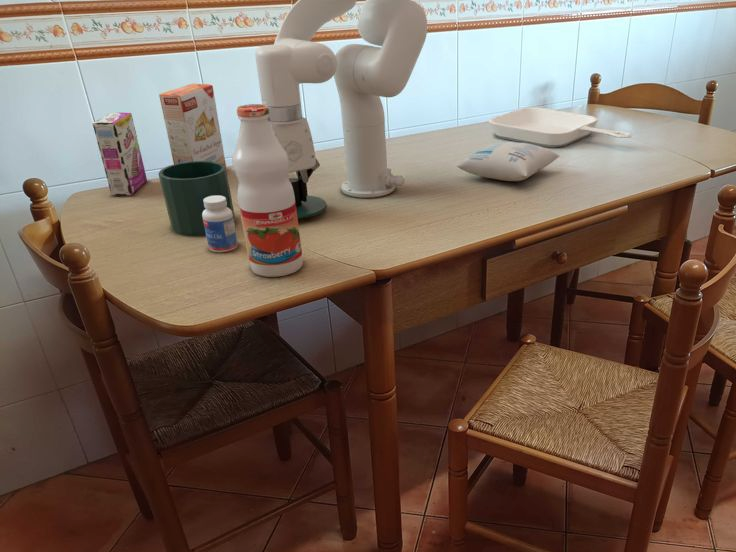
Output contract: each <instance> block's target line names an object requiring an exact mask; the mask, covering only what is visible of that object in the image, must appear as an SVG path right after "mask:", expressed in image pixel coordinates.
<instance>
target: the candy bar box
mask: <svg viewBox="0 0 736 552" xmlns="http://www.w3.org/2000/svg"><path fill="white" fill-rule="evenodd" d="M92 127H93V132H94V134H95V135H94V136H95V138H96V142H97V146H98V150H99V155H100V157H101V161H102V163H103V169H104V172H105V176H106V180H107V183H108V187H109V191H110V195H111V197H131V196H133V195H135V193H136V192H138V191H139V190H140V189H141V188H142V187H143V186H144V185H145V184H147V182H148V178H147V174H146V169H145V165H144V162H143V157H142V152H141V149H140V144H139V139H138V135H137V130H136V127H135V122H134V119H133V114H132V112H110V113H108V114H107V115H105V116H103V117H101V118H99V119H98V120H96V121H94V122H92Z"/></svg>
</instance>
